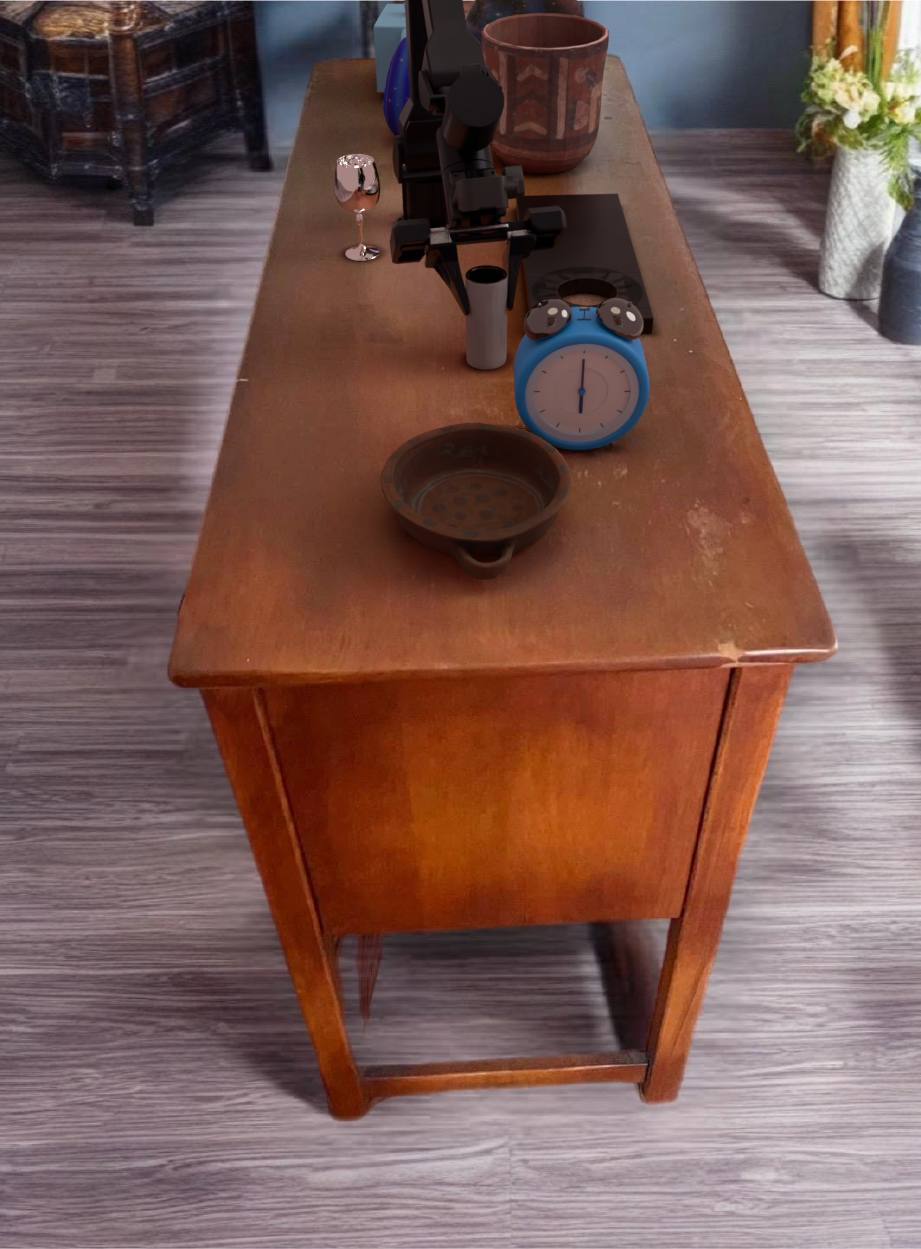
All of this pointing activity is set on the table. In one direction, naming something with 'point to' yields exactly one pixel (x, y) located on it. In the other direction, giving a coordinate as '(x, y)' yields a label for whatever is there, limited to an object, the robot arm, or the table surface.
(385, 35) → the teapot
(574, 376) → the alarm clock
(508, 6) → the decorative sphere
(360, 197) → the wineglass
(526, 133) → the pottery
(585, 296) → the table surface
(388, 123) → the ornament
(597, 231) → the plant stand
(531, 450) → the dish
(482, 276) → the planter
